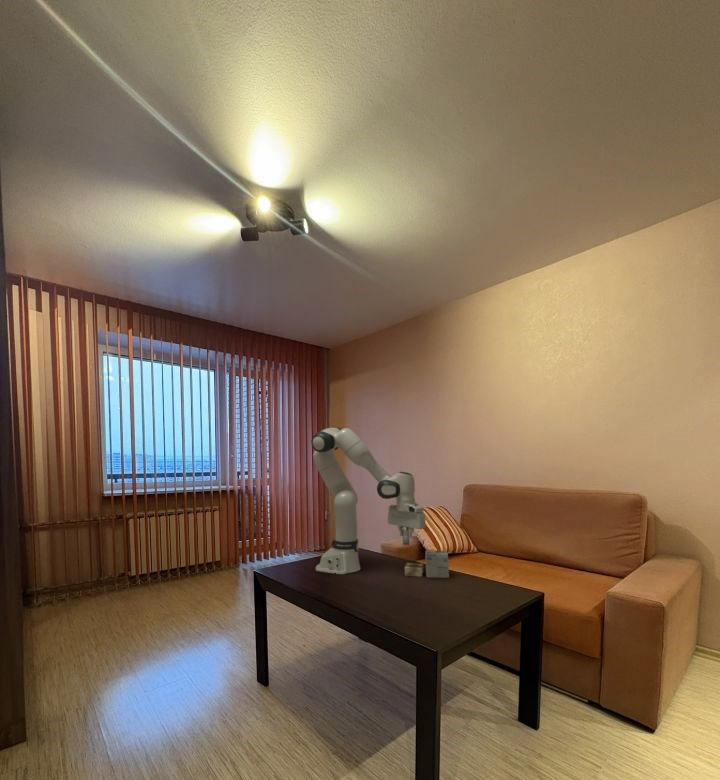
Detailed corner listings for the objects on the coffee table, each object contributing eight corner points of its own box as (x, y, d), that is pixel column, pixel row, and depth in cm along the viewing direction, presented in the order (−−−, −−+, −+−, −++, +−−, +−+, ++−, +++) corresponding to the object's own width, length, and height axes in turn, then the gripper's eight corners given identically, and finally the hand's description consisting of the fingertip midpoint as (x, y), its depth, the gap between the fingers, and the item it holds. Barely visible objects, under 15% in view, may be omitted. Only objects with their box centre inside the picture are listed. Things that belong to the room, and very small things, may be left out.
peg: (402, 544, 190) (402, 525, 191) (403, 543, 193) (403, 523, 194) (408, 545, 189) (408, 525, 190) (409, 543, 192) (409, 524, 193)
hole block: (404, 575, 192) (404, 567, 192) (406, 570, 199) (406, 563, 200) (421, 576, 190) (421, 568, 190) (423, 571, 197) (423, 564, 198)
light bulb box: (447, 573, 194) (447, 550, 195) (449, 578, 187) (448, 554, 189) (425, 573, 195) (424, 550, 196) (426, 577, 188) (425, 553, 190)
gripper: (384, 504, 198) (384, 534, 196) (419, 509, 184) (419, 540, 182) (392, 503, 203) (393, 532, 201) (427, 507, 189) (427, 538, 187)
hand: (405, 536), depth 191 cm, fingers closed on peg, 3 cm apart
